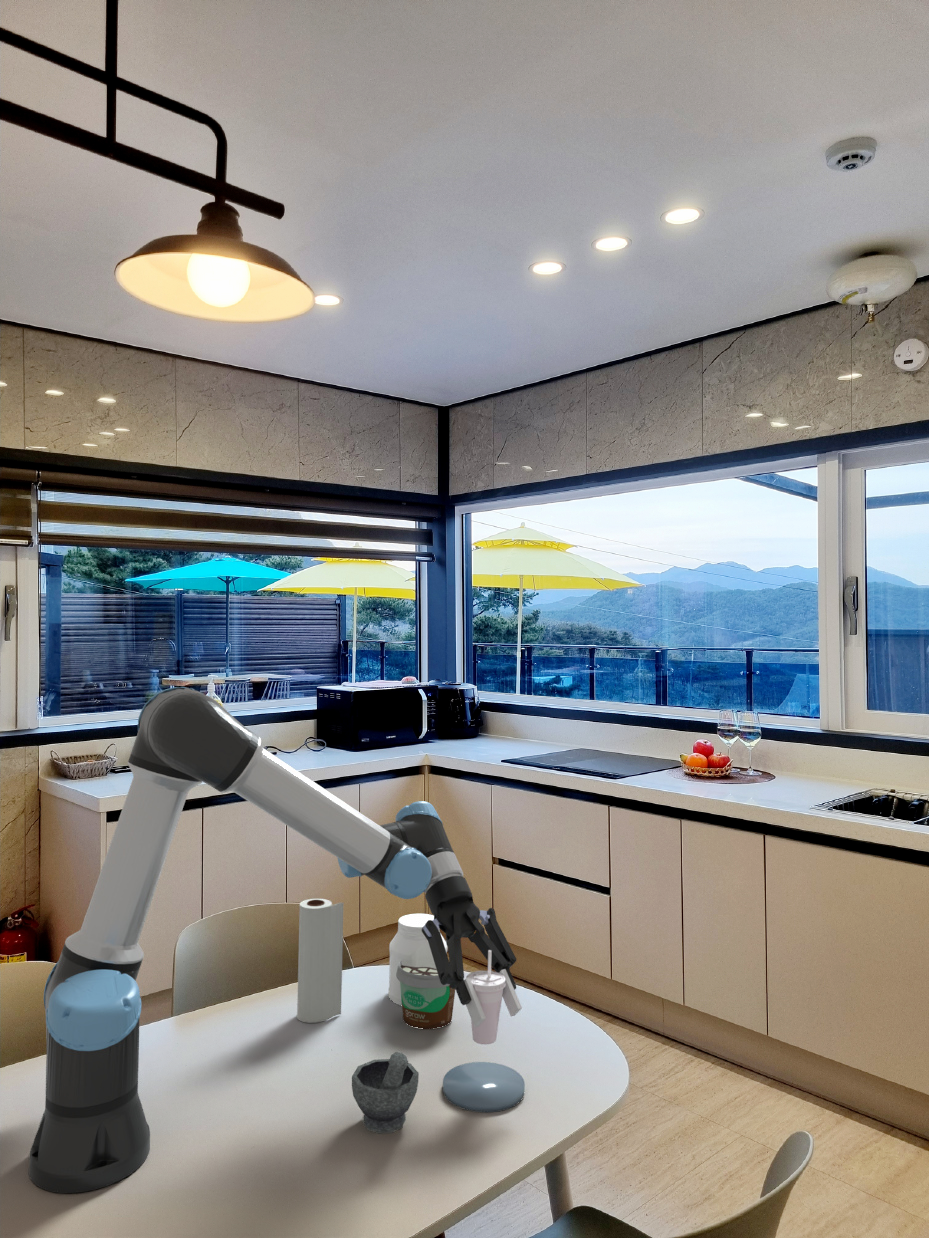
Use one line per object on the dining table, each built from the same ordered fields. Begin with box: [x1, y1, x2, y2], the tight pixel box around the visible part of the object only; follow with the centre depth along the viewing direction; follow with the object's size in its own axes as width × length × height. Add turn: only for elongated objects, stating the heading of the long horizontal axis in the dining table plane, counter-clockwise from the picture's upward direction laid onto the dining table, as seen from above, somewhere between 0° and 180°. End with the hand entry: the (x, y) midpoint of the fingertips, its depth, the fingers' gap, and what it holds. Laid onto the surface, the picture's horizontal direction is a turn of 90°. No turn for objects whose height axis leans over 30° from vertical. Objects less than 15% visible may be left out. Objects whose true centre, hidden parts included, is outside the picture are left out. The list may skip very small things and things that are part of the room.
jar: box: [387, 913, 448, 1006], centre depth 174 cm, size 12×10×15 cm
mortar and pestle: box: [351, 1051, 419, 1134], centre depth 129 cm, size 11×9×12 cm
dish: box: [442, 1061, 526, 1113], centre depth 139 cm, size 13×13×1 cm
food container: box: [396, 961, 456, 1030], centre depth 161 cm, size 12×6×10 cm, turn 73°
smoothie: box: [465, 950, 506, 1045], centre depth 139 cm, size 6×6×14 cm
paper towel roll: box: [296, 898, 344, 1024], centre depth 163 cm, size 7×6×21 cm
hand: (498, 1017), depth 136 cm, fingers closed on smoothie, 6 cm apart
